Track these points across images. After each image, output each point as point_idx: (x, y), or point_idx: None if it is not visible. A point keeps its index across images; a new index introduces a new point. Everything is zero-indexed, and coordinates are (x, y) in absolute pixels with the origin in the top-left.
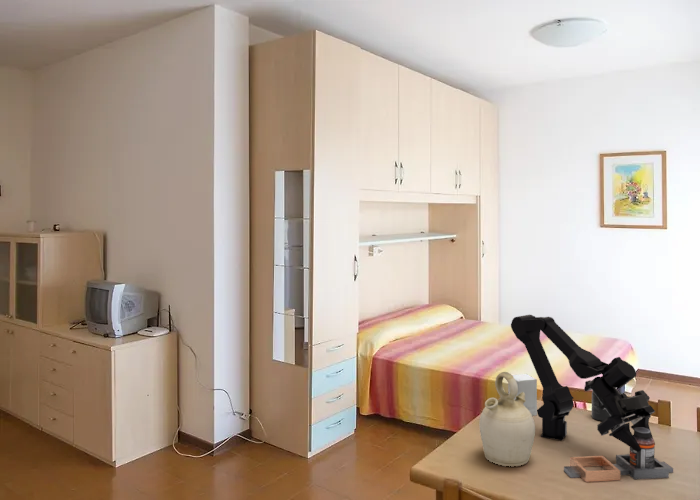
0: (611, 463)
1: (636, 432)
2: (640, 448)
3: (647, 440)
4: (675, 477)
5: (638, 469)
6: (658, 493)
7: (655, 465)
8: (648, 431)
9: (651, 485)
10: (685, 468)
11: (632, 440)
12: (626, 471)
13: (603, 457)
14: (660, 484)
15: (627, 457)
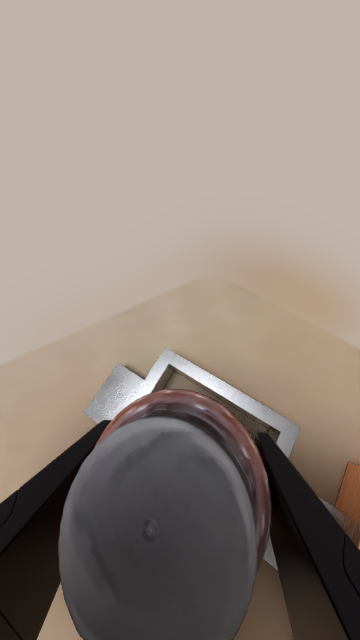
0: None
1: (256, 560)
2: (265, 438)
3: (204, 416)
4: (152, 345)
5: (277, 419)
6: (298, 322)
7: None
8: (148, 437)
9: (270, 362)
10: (68, 357)
11: (331, 522)
12: None
13: None
14: (237, 348)
15: None
